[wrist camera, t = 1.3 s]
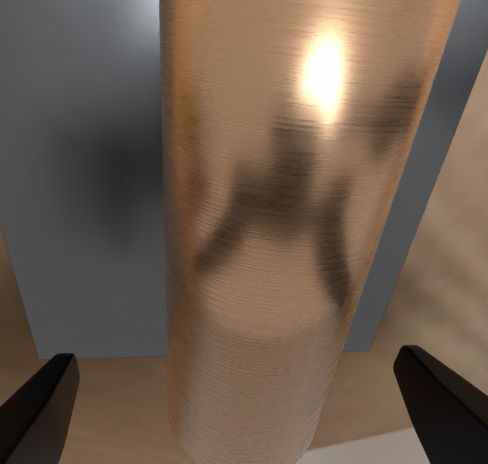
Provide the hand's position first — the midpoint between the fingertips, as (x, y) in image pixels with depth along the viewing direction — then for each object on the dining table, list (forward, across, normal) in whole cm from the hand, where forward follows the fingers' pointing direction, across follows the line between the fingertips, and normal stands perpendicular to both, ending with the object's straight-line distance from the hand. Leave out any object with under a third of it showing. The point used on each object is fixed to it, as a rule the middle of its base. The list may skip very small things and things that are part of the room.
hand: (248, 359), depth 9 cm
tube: (+3, 0, -6) cm, 7 cm away
